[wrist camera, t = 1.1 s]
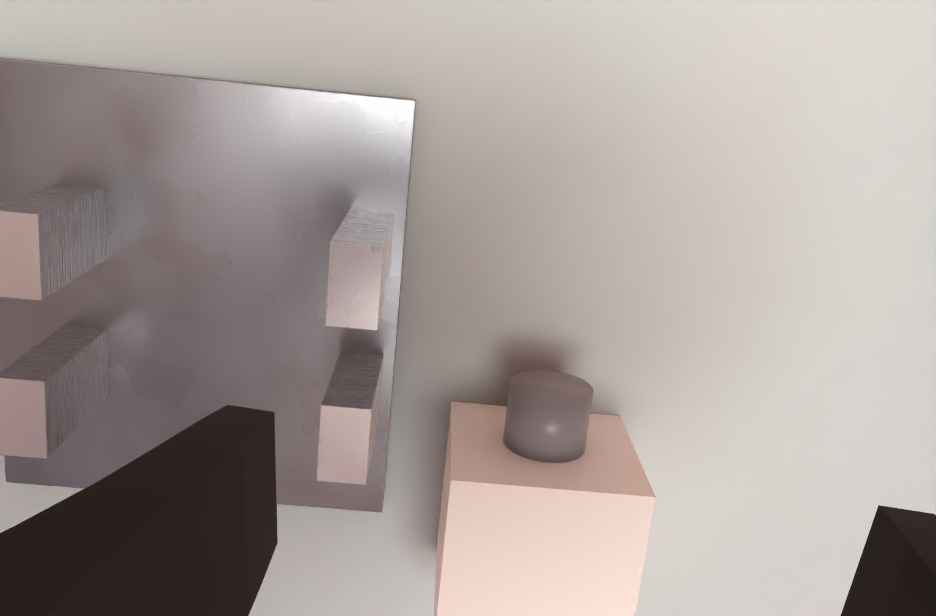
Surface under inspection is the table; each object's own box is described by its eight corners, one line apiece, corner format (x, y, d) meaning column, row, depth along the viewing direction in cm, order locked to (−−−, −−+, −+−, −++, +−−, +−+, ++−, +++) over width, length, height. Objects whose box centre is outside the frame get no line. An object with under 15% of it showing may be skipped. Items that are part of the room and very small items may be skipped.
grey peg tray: (383, 504, 27) (369, 591, 23) (-200, 456, 26) (-328, 537, 22) (415, 100, 24) (407, 113, 19) (-253, 33, 23) (-415, 31, 19)
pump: (596, 562, 28) (625, 669, 23) (436, 549, 28) (432, 655, 23) (628, 361, 26) (666, 433, 21) (456, 346, 26) (457, 415, 21)
